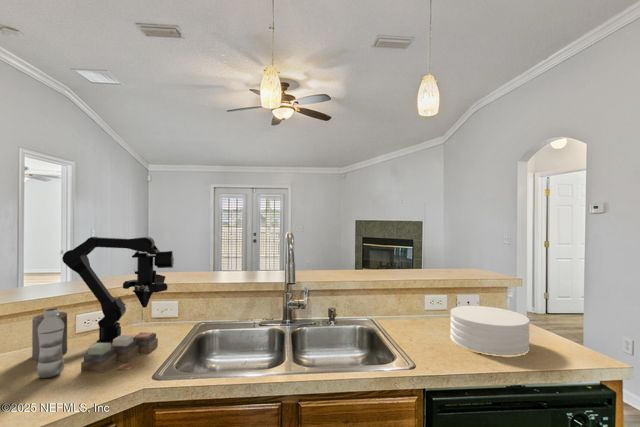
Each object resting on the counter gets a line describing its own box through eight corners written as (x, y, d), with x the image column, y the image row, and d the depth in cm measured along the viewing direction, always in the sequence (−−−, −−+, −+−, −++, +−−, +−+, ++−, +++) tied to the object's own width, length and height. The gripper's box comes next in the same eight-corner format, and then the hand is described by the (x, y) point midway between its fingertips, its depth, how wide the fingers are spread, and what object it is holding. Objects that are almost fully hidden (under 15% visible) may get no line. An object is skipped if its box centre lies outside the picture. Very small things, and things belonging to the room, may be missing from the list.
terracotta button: (134, 343, 125) (134, 336, 125) (140, 339, 130) (140, 332, 130) (147, 343, 125) (147, 336, 125) (152, 339, 130) (153, 332, 130)
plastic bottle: (69, 372, 108) (70, 307, 108) (45, 382, 102) (47, 313, 102) (54, 369, 110) (55, 306, 111) (30, 378, 104) (32, 311, 104)
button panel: (81, 372, 109) (81, 356, 109) (119, 346, 131) (120, 332, 131) (126, 372, 109) (126, 356, 109) (157, 346, 131) (157, 332, 131)
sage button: (87, 356, 110) (88, 348, 110) (96, 350, 115) (96, 342, 115) (102, 356, 110) (102, 348, 110) (110, 350, 115) (110, 342, 115)
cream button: (112, 347, 118) (112, 339, 118) (120, 342, 122) (120, 335, 122) (126, 347, 118) (126, 339, 118) (133, 342, 122) (133, 335, 122)
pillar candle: (55, 347, 128) (55, 307, 128) (73, 351, 125) (73, 309, 125) (25, 358, 119) (25, 314, 119) (43, 362, 116) (43, 317, 116)
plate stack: (449, 350, 131) (449, 319, 131) (451, 328, 157) (451, 303, 157) (535, 363, 120) (536, 329, 120) (522, 337, 146) (523, 310, 146)
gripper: (178, 267, 144) (177, 305, 144) (145, 264, 152) (145, 300, 152) (155, 271, 134) (155, 312, 134) (122, 267, 142) (121, 306, 141)
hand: (144, 307), depth 141 cm, fingers closed
